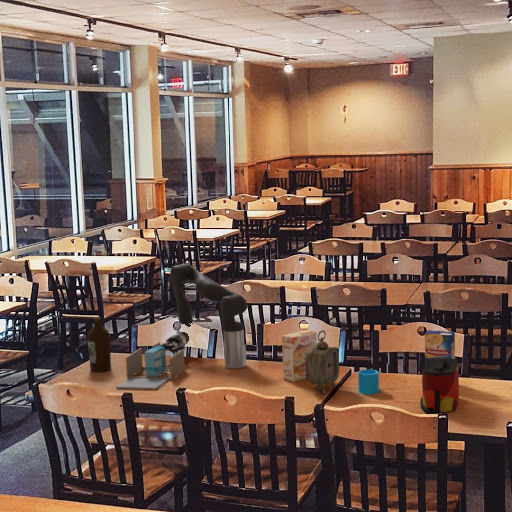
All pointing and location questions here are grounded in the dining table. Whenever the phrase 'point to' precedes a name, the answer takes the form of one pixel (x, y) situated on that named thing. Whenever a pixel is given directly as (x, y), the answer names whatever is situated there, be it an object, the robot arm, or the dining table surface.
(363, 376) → the mug
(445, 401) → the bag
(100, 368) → the olive oil
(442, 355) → the beverage box
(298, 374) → the coffeecake box
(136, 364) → the bookend rack
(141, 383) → the board
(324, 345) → the tabletop clock
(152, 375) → the data package
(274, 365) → the dining table surface
